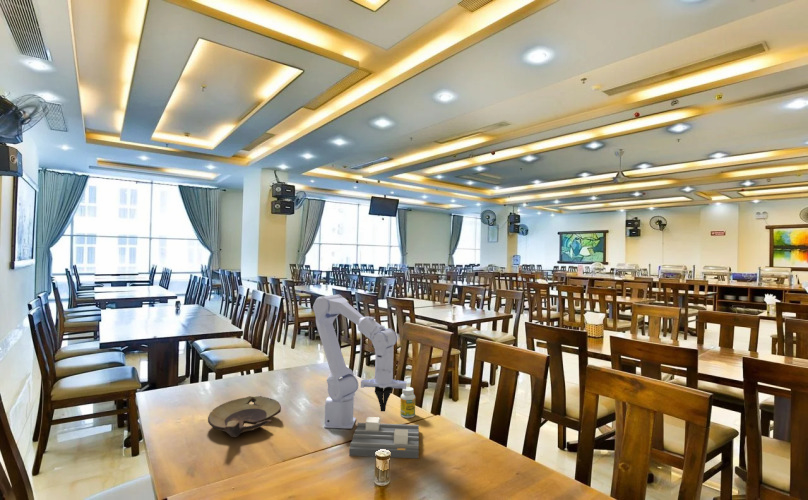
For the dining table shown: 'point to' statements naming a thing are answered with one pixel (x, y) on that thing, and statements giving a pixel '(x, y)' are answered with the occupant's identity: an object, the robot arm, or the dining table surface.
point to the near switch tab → (400, 436)
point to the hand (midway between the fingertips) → (383, 410)
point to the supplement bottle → (407, 403)
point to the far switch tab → (373, 423)
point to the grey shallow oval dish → (243, 414)
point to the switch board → (384, 441)
